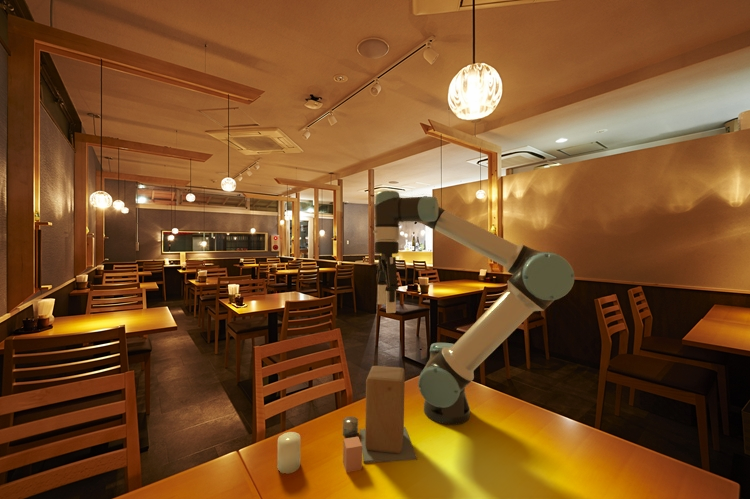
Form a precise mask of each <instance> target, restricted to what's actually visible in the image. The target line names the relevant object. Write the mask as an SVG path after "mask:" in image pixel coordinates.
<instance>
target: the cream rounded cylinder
mask: <svg viewBox="0 0 750 499" xmlns="http://www.w3.org/2000/svg"><path fill="white" fill-rule="evenodd" d="M276 458H277V462H276V463H277V466H276V468H278V469H277V471H278V470H279V471H280V472H279V471H278V472H279V473H280V474H284V473H286V474H285V475H287V474H292V473H294V472H296V471H298V469H300V466H301V435H300V433H297V432H296V431H288V432H284V433H283V434H280V435H279V436H278V438H277V457H276Z"/></svg>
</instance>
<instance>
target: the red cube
mask: <svg viewBox="0 0 750 499" xmlns="http://www.w3.org/2000/svg"><path fill="white" fill-rule="evenodd" d="M342 440H343V441H342V443H343V444H342V446H343V448H342V463H343V466H344V470H345V473H349V472H355V471H360V470H363V453H362V444H361V438H360V437H359V436H356V437H352V438H346V437H345V438H343V439H342Z"/></svg>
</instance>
